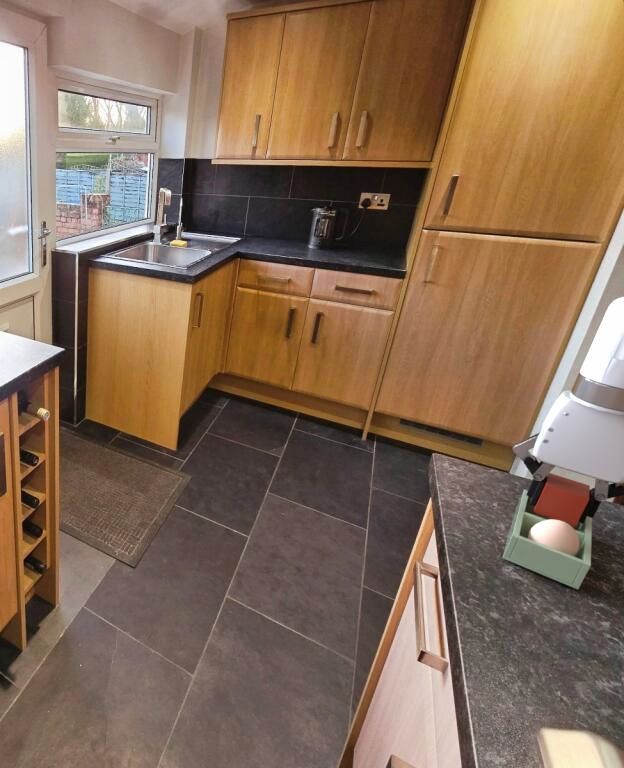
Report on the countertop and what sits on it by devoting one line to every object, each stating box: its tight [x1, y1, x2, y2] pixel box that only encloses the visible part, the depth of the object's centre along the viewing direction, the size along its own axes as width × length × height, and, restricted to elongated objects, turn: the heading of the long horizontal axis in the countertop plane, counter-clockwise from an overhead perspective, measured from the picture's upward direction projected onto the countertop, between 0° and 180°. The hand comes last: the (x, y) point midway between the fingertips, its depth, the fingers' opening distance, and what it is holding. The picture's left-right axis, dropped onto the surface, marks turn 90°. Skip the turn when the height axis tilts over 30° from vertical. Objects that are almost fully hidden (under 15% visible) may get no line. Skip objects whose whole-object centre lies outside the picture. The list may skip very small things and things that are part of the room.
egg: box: [528, 519, 580, 556], centre depth 66 cm, size 5×5×6 cm
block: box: [534, 472, 591, 527], centre depth 70 cm, size 5×5×5 cm
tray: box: [502, 489, 593, 590], centre depth 69 cm, size 8×15×4 cm, turn 137°
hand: (556, 508), depth 71 cm, fingers closed on block, 4 cm apart
